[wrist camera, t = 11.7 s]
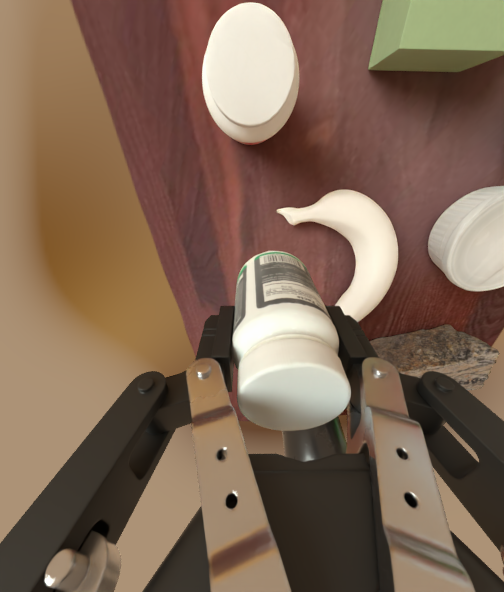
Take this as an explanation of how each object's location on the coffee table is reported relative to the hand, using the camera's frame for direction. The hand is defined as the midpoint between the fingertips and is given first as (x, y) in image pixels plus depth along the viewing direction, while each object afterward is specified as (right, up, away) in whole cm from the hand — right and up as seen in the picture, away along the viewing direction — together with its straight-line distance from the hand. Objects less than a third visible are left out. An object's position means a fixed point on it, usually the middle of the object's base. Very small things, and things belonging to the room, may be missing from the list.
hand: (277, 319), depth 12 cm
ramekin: (+25, +9, +15) cm, 30 cm away
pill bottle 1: (-1, +19, +9) cm, 21 cm away
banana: (+8, +5, +18) cm, 20 cm away
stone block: (+24, -6, +25) cm, 35 cm away
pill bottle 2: (0, +2, +3) cm, 4 cm away
